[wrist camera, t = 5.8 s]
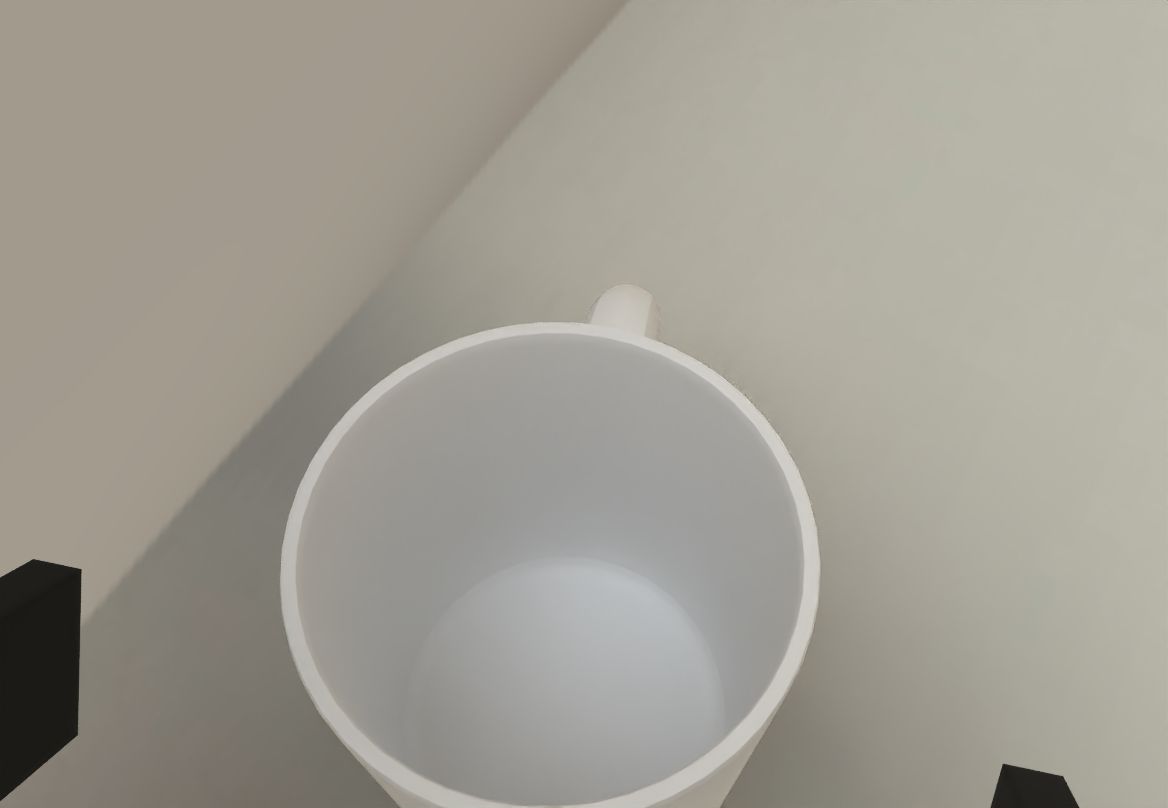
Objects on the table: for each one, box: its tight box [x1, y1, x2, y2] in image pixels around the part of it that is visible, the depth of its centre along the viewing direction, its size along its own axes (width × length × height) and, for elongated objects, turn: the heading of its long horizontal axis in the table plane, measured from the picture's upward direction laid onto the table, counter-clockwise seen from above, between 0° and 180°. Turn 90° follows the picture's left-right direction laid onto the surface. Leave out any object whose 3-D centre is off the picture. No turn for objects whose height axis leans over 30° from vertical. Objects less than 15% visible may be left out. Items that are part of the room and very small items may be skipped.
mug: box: [279, 284, 821, 808], centre depth 21 cm, size 12×8×10 cm
